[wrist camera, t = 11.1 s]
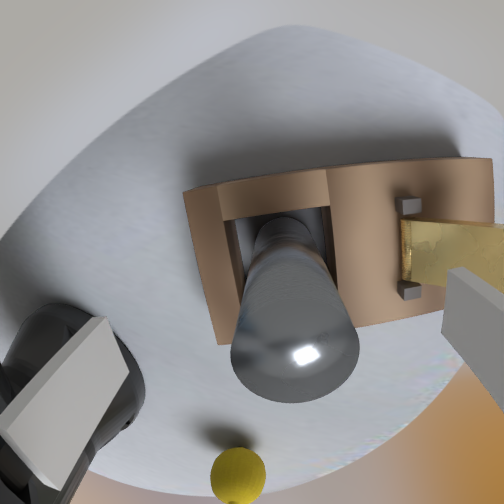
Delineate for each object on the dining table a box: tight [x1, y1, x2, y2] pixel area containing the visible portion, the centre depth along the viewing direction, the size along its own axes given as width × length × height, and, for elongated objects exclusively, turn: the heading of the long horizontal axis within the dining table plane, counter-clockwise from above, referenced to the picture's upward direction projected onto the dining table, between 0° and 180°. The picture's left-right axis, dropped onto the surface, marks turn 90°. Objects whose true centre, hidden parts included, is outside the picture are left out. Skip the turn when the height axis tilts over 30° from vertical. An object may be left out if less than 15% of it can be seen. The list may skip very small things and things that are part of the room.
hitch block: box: [183, 157, 494, 345], centre depth 18 cm, size 20×10×5 cm, turn 99°
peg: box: [230, 217, 360, 403], centre depth 15 cm, size 4×4×13 cm
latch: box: [401, 217, 504, 294], centre depth 14 cm, size 7×4×1 cm
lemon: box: [210, 447, 266, 504], centre depth 24 cm, size 6×6×8 cm
